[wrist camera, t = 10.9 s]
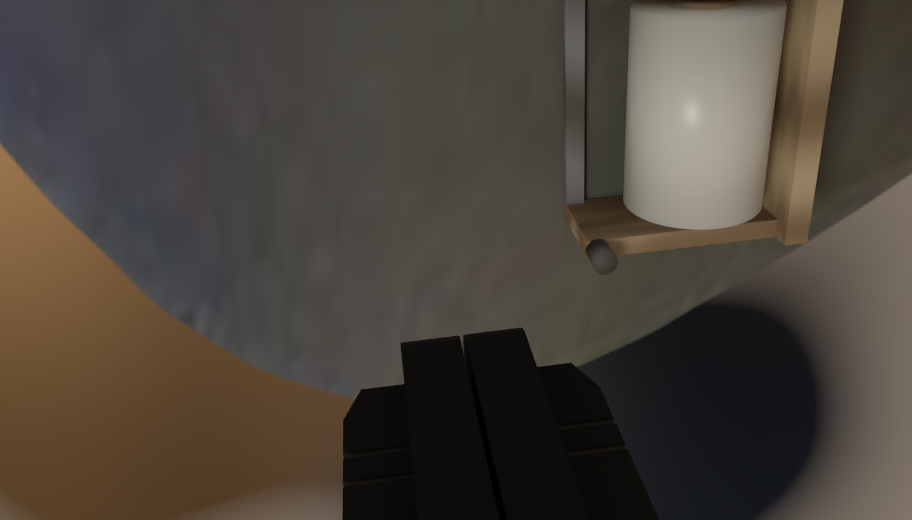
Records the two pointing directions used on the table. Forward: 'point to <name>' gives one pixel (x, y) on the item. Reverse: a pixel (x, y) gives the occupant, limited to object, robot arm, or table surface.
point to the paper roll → (700, 109)
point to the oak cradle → (789, 161)
